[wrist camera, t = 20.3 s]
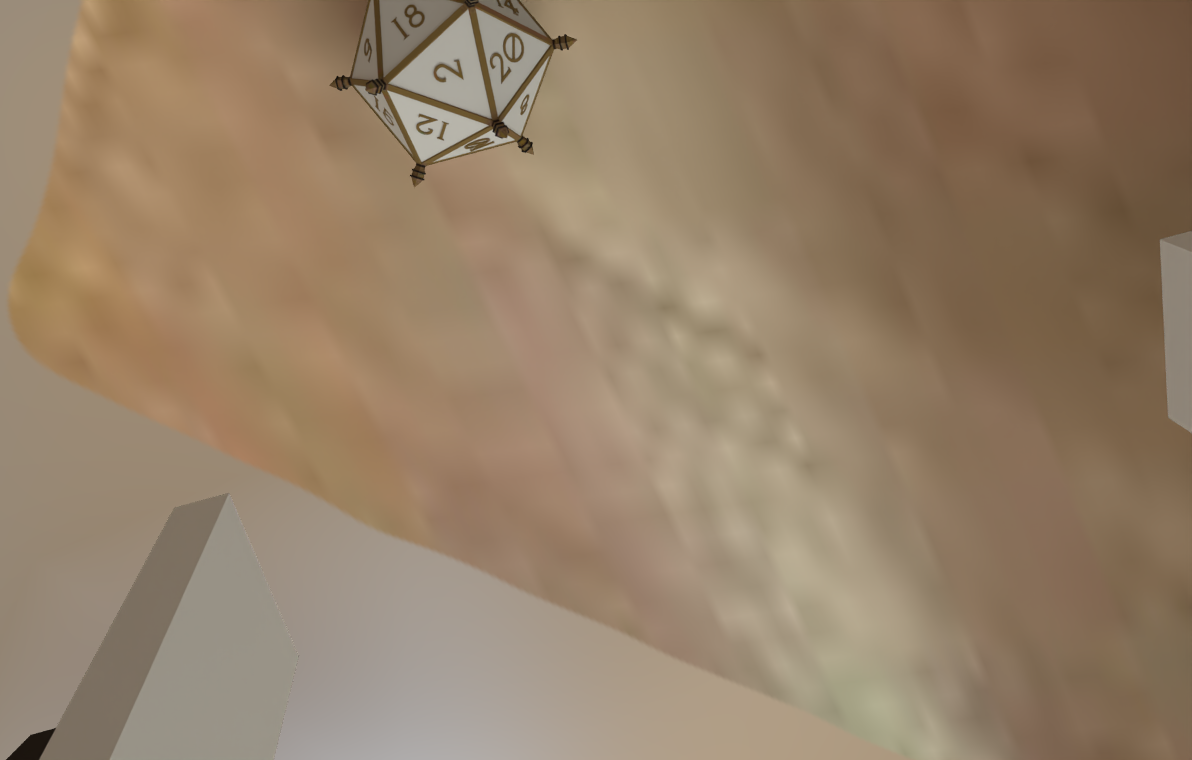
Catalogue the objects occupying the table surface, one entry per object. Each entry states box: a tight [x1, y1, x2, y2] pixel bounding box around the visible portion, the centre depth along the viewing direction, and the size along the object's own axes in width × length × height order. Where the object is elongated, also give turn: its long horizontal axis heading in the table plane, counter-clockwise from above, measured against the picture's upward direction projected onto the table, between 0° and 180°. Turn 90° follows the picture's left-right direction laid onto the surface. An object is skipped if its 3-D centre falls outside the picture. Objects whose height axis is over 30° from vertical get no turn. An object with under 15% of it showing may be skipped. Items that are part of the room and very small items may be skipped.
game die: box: [329, 0, 576, 187], centre depth 42 cm, size 9×8×10 cm
